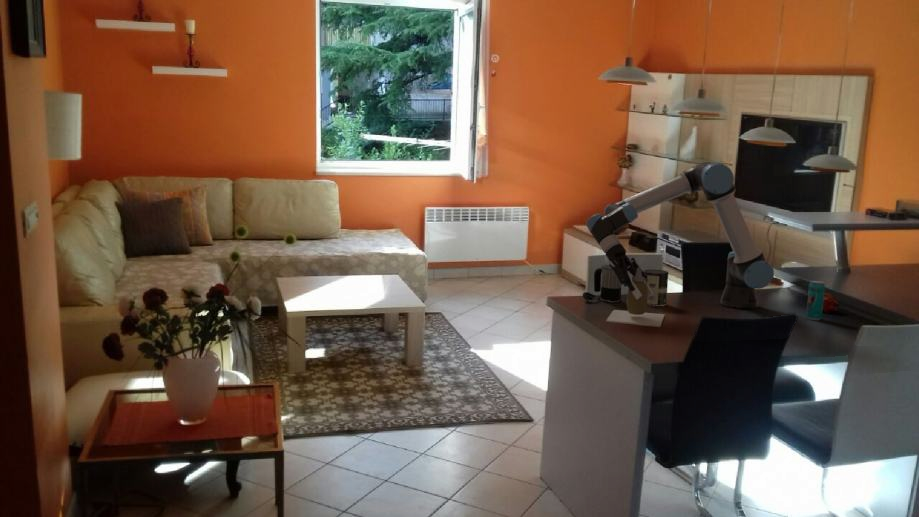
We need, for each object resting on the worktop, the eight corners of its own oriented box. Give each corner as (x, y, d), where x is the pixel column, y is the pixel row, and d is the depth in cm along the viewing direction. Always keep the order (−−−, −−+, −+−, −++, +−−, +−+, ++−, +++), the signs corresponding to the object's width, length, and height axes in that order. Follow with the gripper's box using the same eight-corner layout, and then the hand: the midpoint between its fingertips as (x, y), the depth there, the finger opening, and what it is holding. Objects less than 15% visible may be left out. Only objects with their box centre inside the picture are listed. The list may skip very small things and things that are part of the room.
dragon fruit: (814, 311, 342) (835, 321, 331) (803, 300, 338) (824, 311, 327) (826, 295, 341) (848, 305, 331) (816, 284, 338) (837, 294, 327)
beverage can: (802, 317, 321) (806, 280, 319) (814, 316, 324) (817, 280, 321) (813, 321, 316) (817, 283, 314) (825, 320, 318) (828, 282, 316)
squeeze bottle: (647, 312, 316) (650, 266, 313) (646, 316, 308) (649, 270, 305) (626, 310, 318) (628, 265, 315) (624, 314, 310) (627, 268, 307)
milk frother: (625, 300, 347) (627, 266, 345) (609, 306, 334) (611, 271, 332) (594, 296, 355) (596, 263, 353) (578, 302, 342) (580, 267, 340)
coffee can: (663, 302, 346) (665, 269, 344) (669, 307, 336) (671, 273, 334) (639, 301, 346) (641, 268, 344) (644, 306, 336) (646, 273, 334)
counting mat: (664, 315, 319) (664, 314, 319) (660, 327, 301) (660, 325, 301) (613, 311, 326) (613, 309, 326) (606, 321, 307) (606, 320, 307)
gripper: (622, 252, 327) (653, 298, 318) (591, 256, 314) (623, 305, 305) (633, 241, 322) (666, 287, 313) (603, 244, 310) (635, 293, 300)
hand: (645, 296), depth 309 cm, fingers closed on squeeze bottle, 6 cm apart
